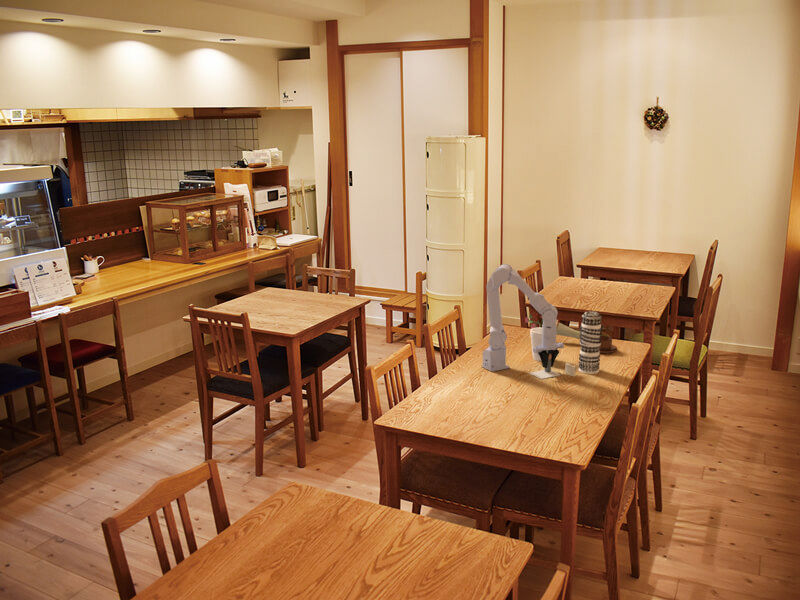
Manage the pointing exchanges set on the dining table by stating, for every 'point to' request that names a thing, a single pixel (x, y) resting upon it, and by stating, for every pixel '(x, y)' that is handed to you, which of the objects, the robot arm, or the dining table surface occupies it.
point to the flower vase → (559, 329)
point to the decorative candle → (590, 342)
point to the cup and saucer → (606, 345)
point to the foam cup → (536, 341)
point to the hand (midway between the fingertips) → (547, 366)
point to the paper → (544, 374)
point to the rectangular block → (570, 369)
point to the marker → (549, 364)
